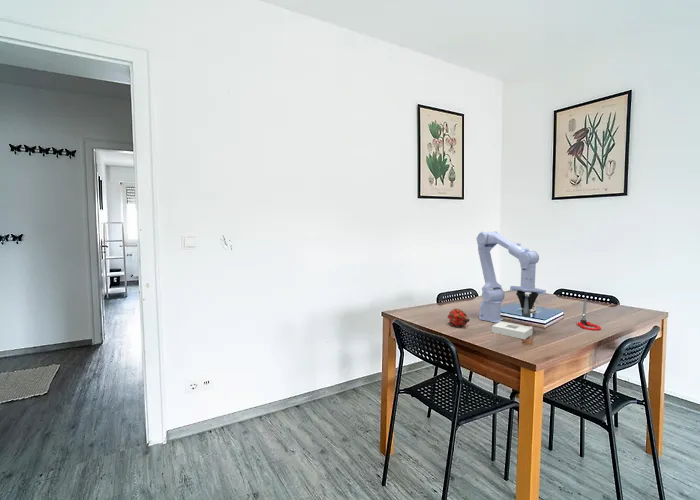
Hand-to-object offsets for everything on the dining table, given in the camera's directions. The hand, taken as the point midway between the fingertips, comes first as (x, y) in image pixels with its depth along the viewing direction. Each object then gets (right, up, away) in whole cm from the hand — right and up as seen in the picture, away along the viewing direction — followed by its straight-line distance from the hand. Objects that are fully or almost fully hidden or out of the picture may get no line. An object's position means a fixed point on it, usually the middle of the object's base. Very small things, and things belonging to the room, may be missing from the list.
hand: (526, 308), depth 168 cm
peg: (0, -3, 0) cm, 3 cm away
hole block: (-8, -11, -2) cm, 13 cm away
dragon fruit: (-28, -10, +10) cm, 31 cm away
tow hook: (+32, -10, +6) cm, 34 cm away
